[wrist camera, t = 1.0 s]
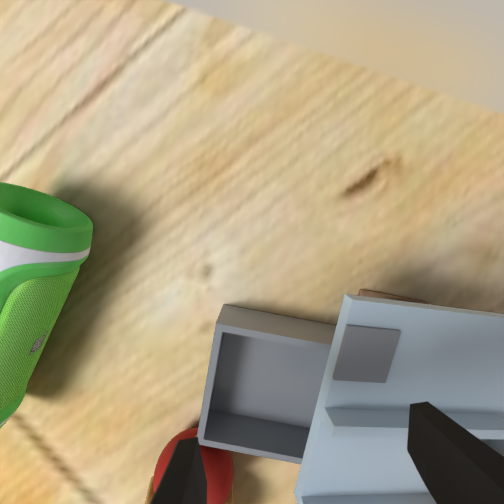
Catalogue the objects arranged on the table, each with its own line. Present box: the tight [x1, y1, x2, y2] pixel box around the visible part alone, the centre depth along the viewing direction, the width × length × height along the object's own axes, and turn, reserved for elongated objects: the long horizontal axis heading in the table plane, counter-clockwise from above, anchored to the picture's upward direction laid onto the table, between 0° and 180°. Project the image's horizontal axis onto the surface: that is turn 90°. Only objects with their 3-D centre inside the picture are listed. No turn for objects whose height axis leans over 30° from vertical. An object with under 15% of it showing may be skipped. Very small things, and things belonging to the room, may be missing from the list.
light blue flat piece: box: [294, 294, 504, 504], centre depth 16 cm, size 12×13×2 cm
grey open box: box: [197, 304, 336, 464], centre depth 21 cm, size 10×10×4 cm
